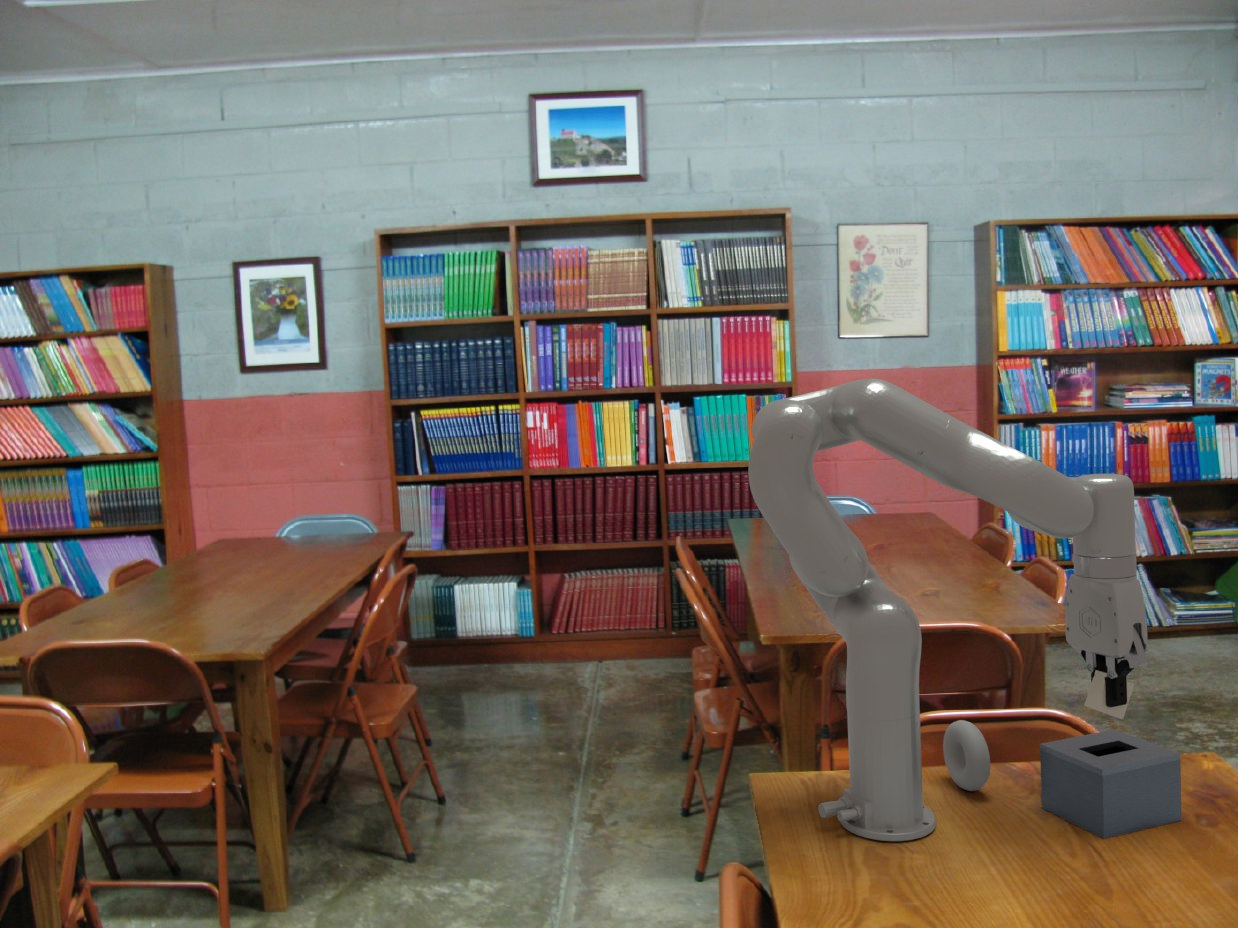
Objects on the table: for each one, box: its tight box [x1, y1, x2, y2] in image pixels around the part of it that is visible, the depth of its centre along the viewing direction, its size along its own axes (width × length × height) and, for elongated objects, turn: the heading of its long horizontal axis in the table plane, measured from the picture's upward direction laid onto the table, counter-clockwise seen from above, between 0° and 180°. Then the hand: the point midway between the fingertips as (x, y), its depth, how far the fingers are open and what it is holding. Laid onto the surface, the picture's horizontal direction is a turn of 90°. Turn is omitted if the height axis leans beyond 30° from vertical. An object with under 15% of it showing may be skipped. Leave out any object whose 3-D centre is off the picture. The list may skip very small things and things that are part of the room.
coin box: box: [1039, 729, 1183, 840], centre depth 136 cm, size 13×11×9 cm
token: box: [1084, 670, 1135, 721], centre depth 136 cm, size 5×2×5 cm, turn 108°
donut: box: [942, 719, 991, 792], centre depth 147 cm, size 10×4×10 cm, turn 10°
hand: (1109, 702), depth 136 cm, fingers closed on token, 1 cm apart
